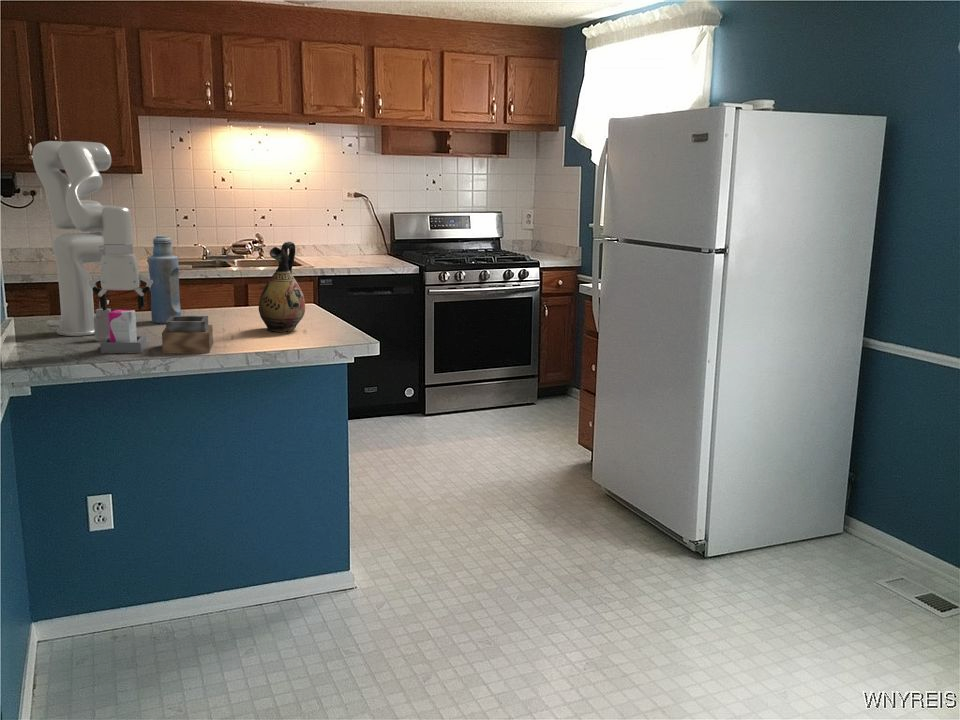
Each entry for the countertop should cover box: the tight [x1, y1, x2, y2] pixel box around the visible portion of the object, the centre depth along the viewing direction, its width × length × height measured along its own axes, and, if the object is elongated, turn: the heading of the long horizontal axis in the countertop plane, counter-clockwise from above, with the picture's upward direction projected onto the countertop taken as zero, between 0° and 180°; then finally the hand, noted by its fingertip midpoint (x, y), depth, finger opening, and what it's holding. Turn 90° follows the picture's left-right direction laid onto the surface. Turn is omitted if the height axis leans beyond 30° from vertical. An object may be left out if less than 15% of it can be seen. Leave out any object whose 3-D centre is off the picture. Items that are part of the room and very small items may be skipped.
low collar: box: [99, 335, 148, 354], centre depth 241 cm, size 11×11×3 cm
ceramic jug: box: [258, 241, 306, 333], centre depth 277 cm, size 17×15×30 cm
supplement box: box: [109, 309, 138, 342], centre depth 240 cm, size 6×6×12 cm
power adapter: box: [94, 301, 112, 342], centre depth 252 cm, size 3×5×12 cm, turn 126°
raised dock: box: [161, 315, 214, 354], centre depth 245 cm, size 13×13×9 cm
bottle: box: [147, 235, 182, 325], centre depth 284 cm, size 10×10×30 cm
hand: (123, 309), depth 238 cm, fingers open, 9 cm apart
